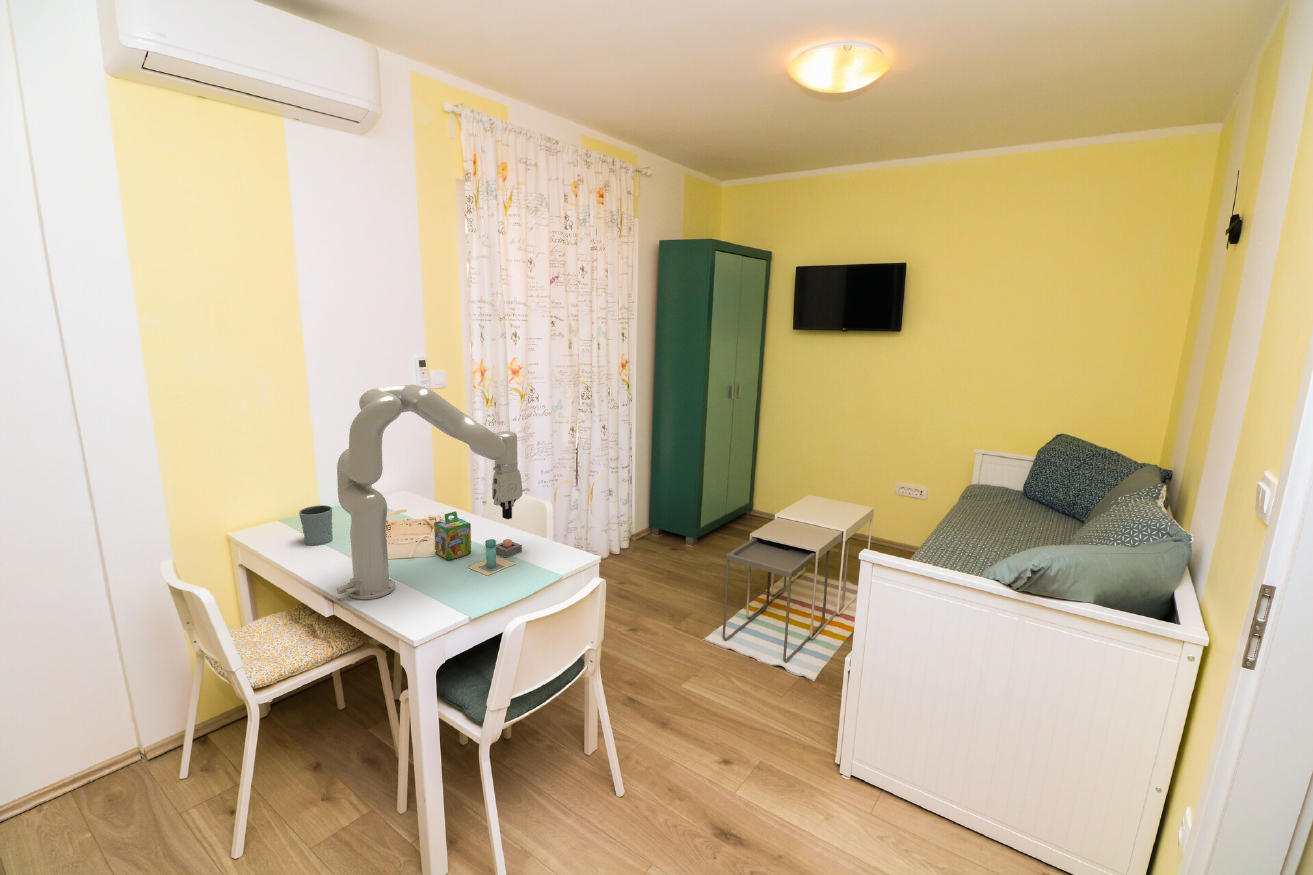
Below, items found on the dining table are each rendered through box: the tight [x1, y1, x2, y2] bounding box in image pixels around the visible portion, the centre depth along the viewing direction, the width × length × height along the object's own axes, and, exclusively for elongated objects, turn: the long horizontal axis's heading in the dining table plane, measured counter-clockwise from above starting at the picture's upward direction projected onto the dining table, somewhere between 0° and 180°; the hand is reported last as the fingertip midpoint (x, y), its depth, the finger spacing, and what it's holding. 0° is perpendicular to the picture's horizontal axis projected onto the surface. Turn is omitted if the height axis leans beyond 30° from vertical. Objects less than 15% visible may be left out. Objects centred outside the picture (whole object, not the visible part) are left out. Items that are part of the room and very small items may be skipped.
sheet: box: [466, 555, 516, 577], centre depth 196 cm, size 12×10×1 cm
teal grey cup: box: [298, 504, 333, 547], centre depth 209 cm, size 10×10×12 cm
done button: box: [502, 538, 513, 548], centre depth 207 cm, size 3×3×3 cm
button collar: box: [496, 541, 523, 559], centre depth 207 cm, size 7×7×2 cm
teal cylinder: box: [484, 538, 497, 569], centre depth 193 cm, size 3×3×9 cm
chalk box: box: [433, 511, 472, 561], centre depth 203 cm, size 9×9×15 cm
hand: (507, 518), depth 205 cm, fingers closed
